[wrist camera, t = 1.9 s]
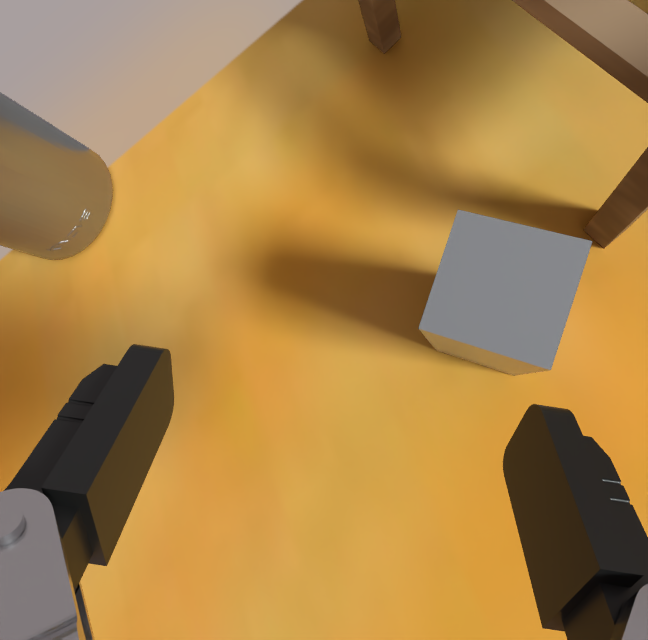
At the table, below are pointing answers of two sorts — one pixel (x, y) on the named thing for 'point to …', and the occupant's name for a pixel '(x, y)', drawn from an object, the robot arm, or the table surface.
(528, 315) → the basalt block
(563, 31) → the stand
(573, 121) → the table surface
